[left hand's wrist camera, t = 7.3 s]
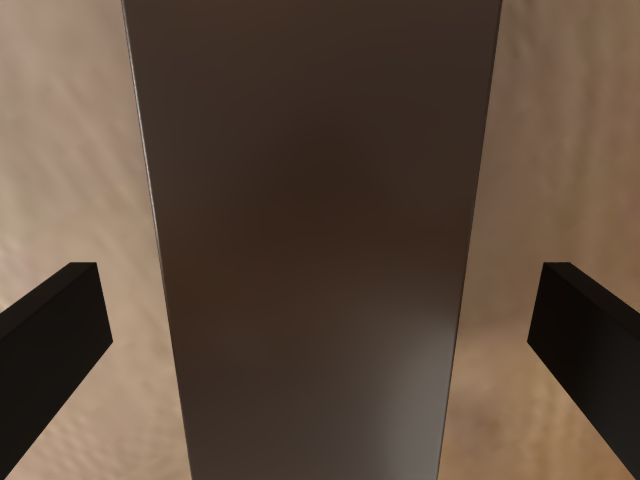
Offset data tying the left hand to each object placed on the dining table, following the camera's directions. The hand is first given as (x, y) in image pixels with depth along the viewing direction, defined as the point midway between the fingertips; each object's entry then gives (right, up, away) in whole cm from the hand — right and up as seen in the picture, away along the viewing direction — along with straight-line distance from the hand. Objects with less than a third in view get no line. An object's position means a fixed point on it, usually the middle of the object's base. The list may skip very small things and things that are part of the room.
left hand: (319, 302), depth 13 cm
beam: (0, +12, -1) cm, 12 cm away
